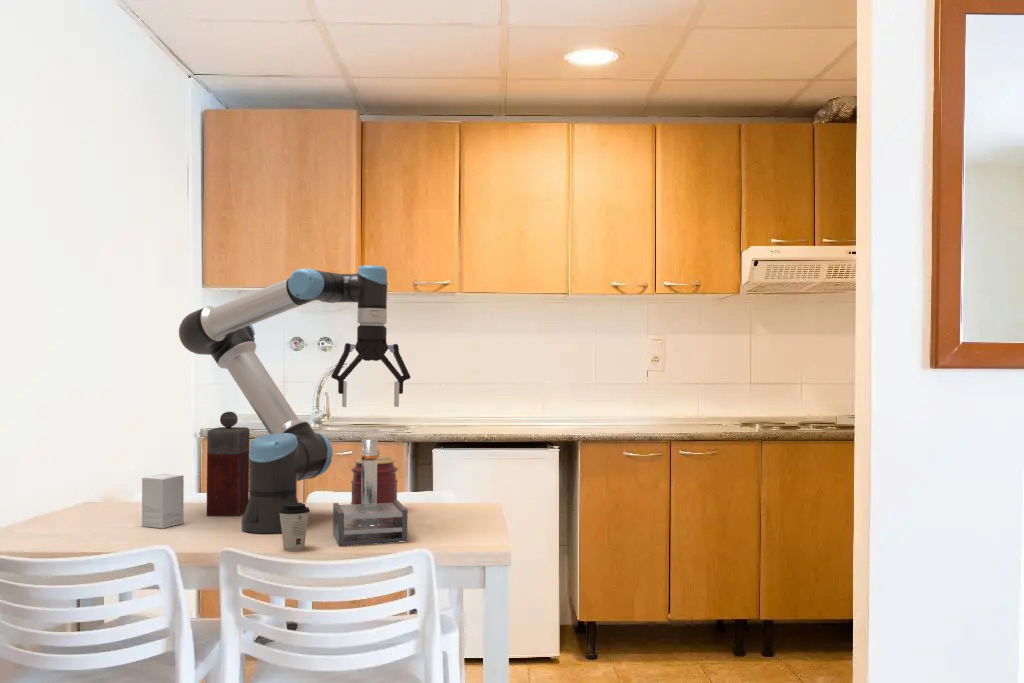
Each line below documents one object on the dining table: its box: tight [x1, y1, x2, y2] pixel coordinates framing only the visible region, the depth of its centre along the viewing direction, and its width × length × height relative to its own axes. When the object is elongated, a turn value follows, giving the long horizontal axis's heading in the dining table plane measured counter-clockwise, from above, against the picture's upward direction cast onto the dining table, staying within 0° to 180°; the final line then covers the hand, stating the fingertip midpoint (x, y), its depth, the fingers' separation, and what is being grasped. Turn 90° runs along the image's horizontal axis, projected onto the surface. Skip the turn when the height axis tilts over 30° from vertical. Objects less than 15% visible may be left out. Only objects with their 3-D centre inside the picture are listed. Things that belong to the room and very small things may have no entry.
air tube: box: [360, 438, 378, 526], centre depth 228 cm, size 4×4×22 cm
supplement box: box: [141, 473, 185, 529], centre depth 225 cm, size 7×7×13 cm
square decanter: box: [206, 411, 250, 517], centre depth 243 cm, size 9×11×28 cm
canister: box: [350, 448, 399, 511], centre depth 247 cm, size 13×13×18 cm
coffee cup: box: [279, 502, 311, 552], centre depth 200 cm, size 7×7×10 cm
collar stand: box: [332, 499, 409, 547], centre depth 212 cm, size 16×14×8 cm
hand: (370, 406), depth 228 cm, fingers open, 13 cm apart
